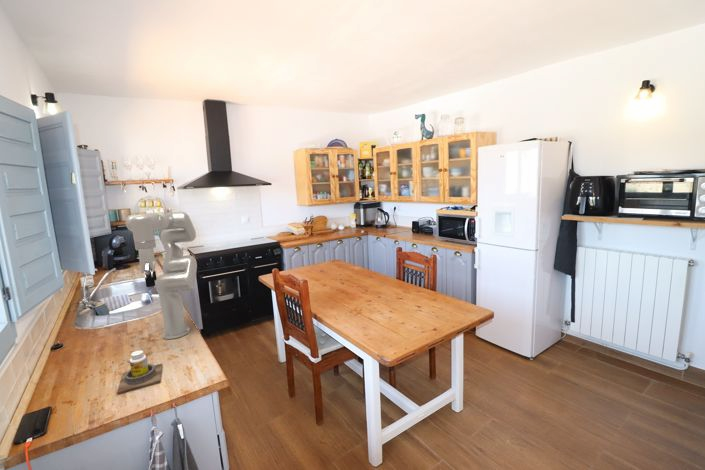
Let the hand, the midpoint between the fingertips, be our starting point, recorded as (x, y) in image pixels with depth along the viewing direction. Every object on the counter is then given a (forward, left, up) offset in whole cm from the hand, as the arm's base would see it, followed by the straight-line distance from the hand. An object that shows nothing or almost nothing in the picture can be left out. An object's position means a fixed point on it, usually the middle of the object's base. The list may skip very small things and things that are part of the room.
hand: (151, 283), depth 146 cm
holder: (+18, -7, -33) cm, 38 cm away
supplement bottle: (+18, -7, -32) cm, 38 cm away
